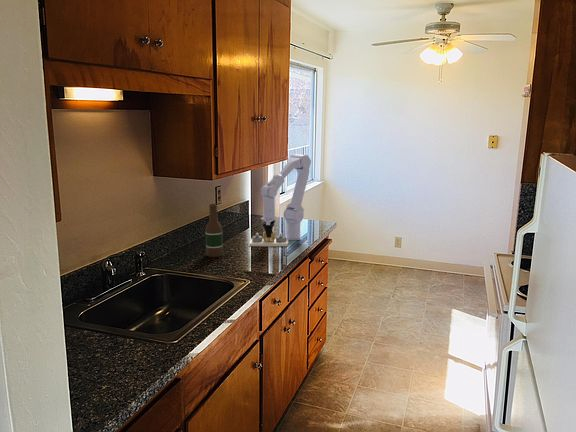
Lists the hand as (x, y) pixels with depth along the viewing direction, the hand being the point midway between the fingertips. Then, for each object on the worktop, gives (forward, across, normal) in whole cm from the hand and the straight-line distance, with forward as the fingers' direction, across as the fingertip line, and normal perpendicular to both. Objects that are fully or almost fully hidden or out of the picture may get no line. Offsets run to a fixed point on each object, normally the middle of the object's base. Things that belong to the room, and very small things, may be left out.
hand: (269, 235), depth 243 cm
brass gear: (+2, 0, 0) cm, 2 cm away
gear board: (+4, 0, 0) cm, 4 cm away
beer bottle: (+4, +20, -24) cm, 32 cm away
